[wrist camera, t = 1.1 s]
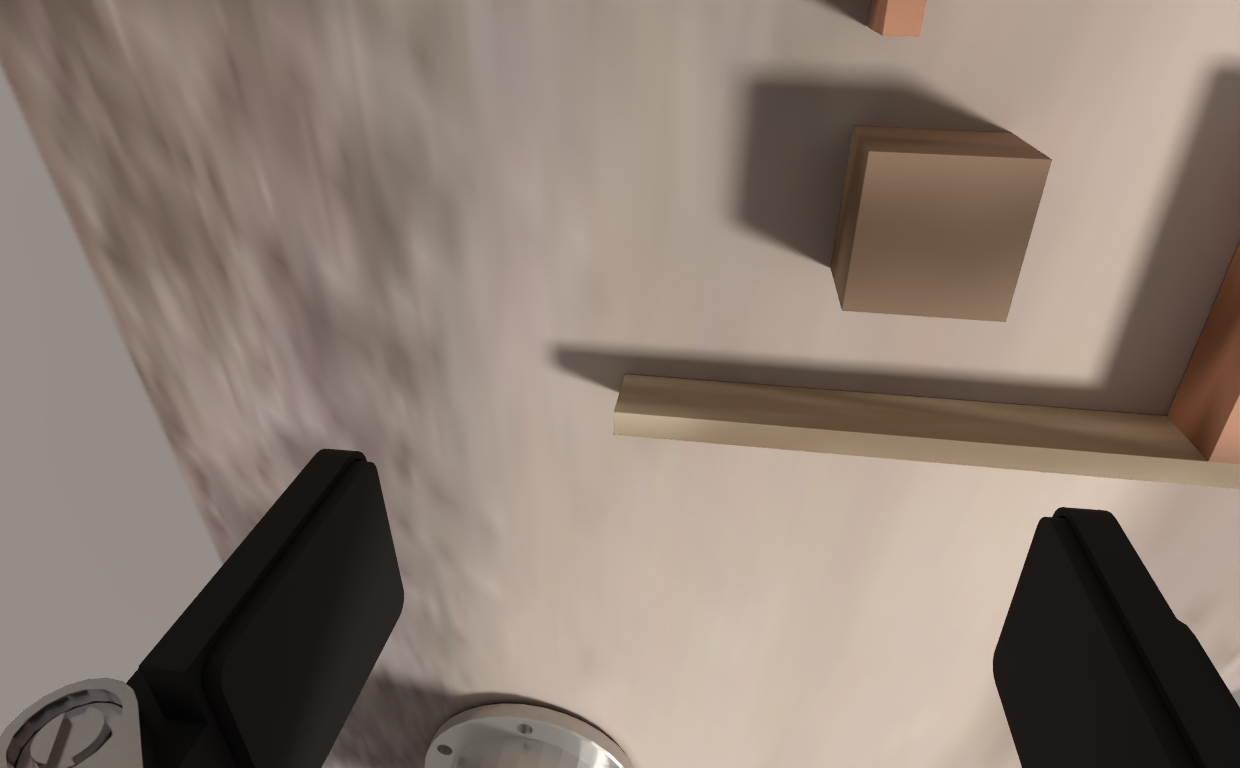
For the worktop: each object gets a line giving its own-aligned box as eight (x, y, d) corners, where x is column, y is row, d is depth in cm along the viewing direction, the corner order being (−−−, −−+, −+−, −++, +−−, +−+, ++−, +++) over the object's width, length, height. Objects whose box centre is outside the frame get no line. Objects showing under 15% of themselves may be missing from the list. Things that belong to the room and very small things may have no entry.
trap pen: (1436, 460, 28) (1505, 512, 26) (624, 395, 32) (613, 434, 29) (1948, -341, 17) (2158, -392, 15) (634, -301, 21) (618, -337, 18)
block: (973, 276, 28) (1005, 321, 24) (830, 267, 28) (842, 310, 25) (1010, 131, 25) (1051, 159, 22) (852, 124, 26) (868, 151, 22)
